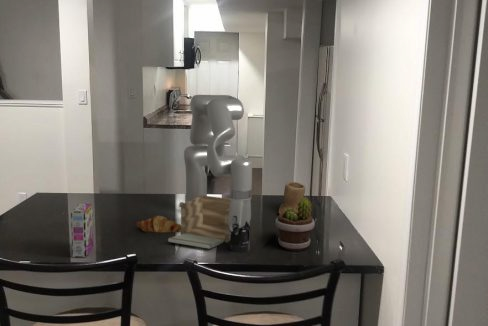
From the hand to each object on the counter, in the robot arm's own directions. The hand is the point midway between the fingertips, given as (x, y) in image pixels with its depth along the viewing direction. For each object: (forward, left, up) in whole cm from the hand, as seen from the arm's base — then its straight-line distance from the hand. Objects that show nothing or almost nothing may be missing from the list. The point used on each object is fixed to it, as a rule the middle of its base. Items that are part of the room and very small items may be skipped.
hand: (240, 240), depth 168 cm
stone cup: (+2, +56, -5) cm, 56 cm away
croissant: (-38, +7, -5) cm, 39 cm away
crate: (-17, +13, -4) cm, 22 cm away
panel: (-17, +5, -3) cm, 18 cm away
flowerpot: (+16, +14, -5) cm, 22 cm away
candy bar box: (-50, -24, -5) cm, 56 cm away
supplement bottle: (0, 0, -5) cm, 5 cm away
